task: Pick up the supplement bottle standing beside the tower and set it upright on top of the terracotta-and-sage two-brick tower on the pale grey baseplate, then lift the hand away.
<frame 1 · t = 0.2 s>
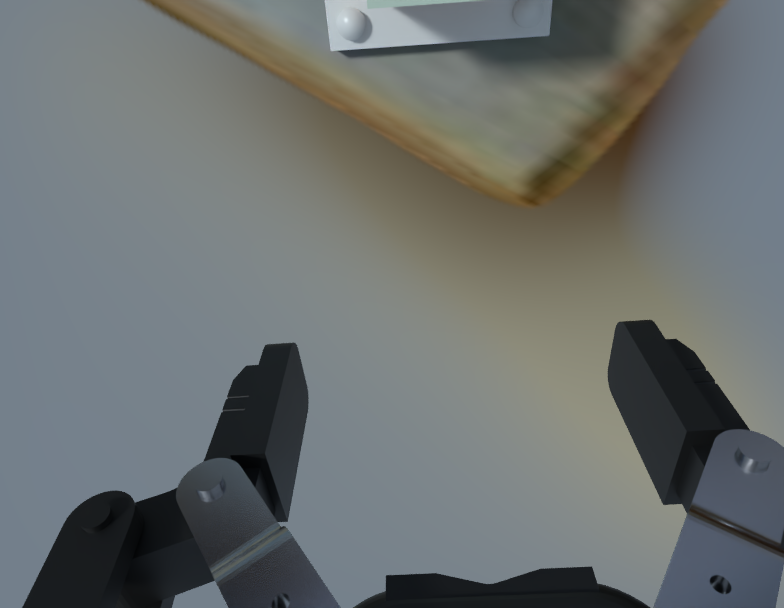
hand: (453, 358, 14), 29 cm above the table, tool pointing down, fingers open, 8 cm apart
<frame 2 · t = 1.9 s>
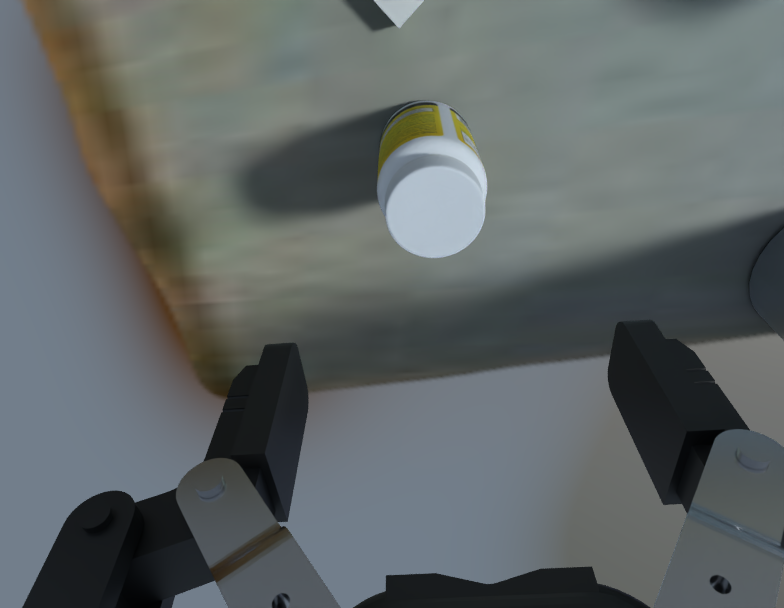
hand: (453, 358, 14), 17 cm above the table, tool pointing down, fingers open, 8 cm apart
supplement bottle: (425, 144, 28), on the table
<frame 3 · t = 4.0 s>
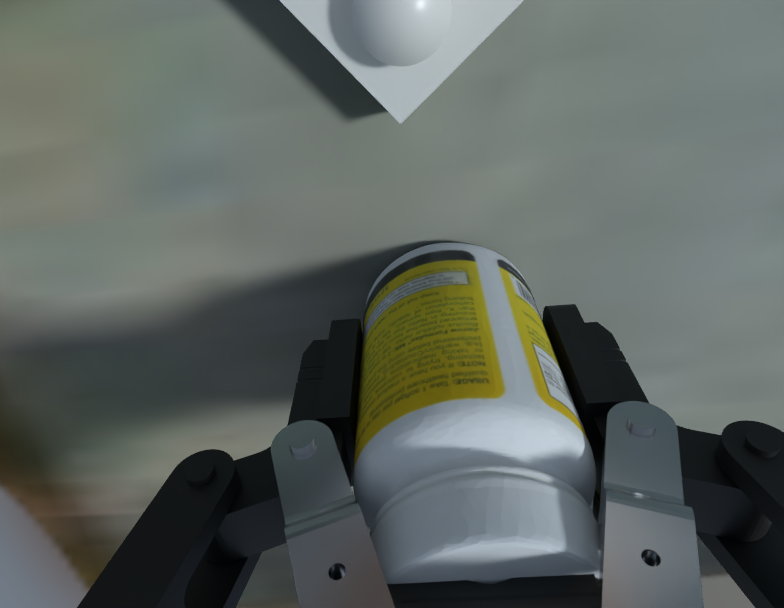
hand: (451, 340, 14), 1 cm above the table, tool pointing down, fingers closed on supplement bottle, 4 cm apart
supplement bottle: (447, 306, 16), on the table, touching gripper
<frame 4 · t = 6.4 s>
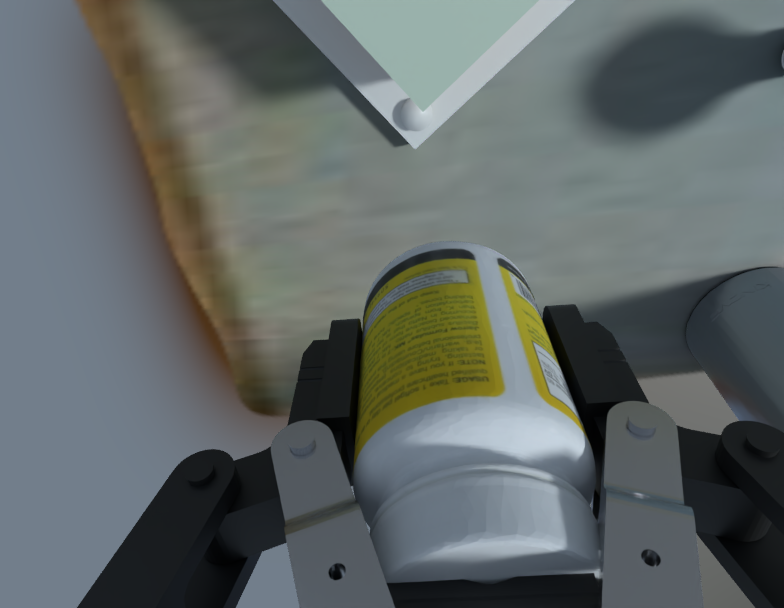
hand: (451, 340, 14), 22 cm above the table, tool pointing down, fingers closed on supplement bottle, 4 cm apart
supplement bottle: (447, 305, 16), point 20 cm above the table, touching gripper
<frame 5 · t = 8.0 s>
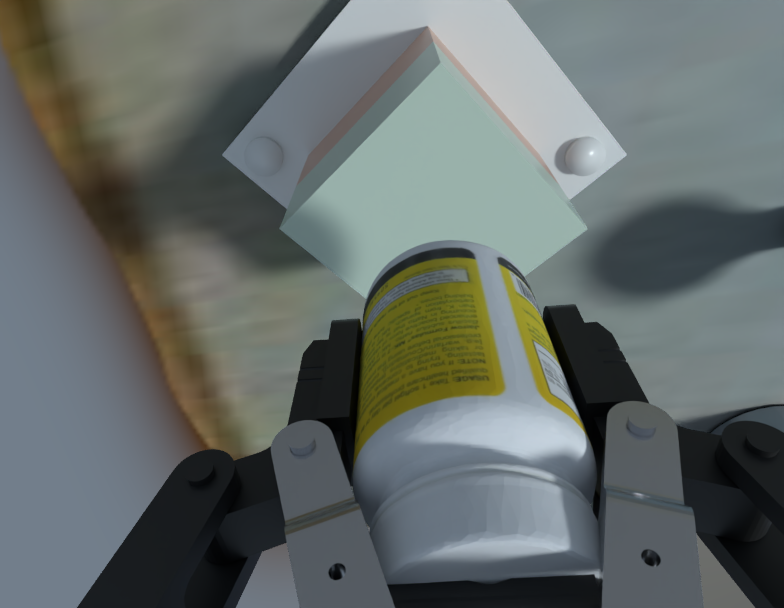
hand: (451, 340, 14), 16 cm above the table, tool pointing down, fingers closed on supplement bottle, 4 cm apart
supplement bottle: (447, 304, 16), point 14 cm above the table, touching gripper
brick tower: (422, 146, 27), on the table
when the fingers open (12 cm above the table, at t = 9.1 s): supplement bottle drops 1 cm, resting on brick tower.
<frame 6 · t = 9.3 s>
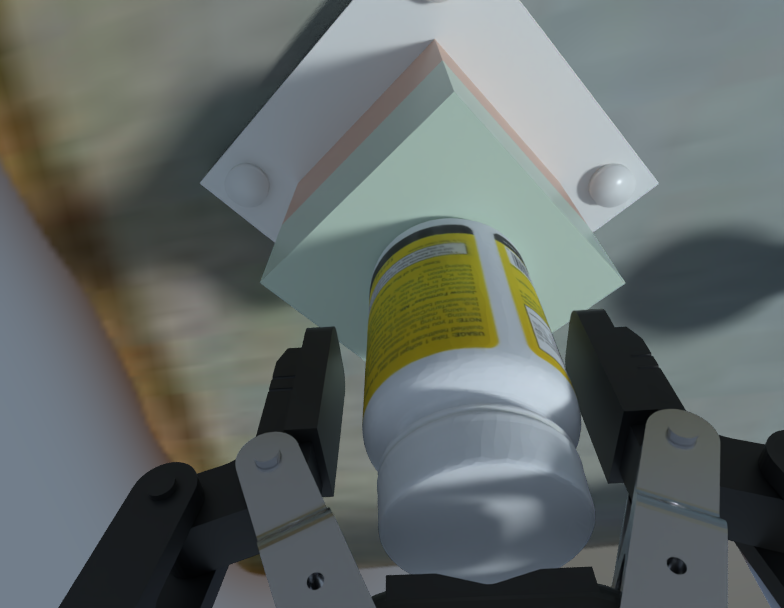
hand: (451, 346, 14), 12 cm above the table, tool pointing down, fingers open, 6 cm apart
supplement bottle: (447, 279, 17), point 9 cm above the table, touching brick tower
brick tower: (427, 173, 24), on the table
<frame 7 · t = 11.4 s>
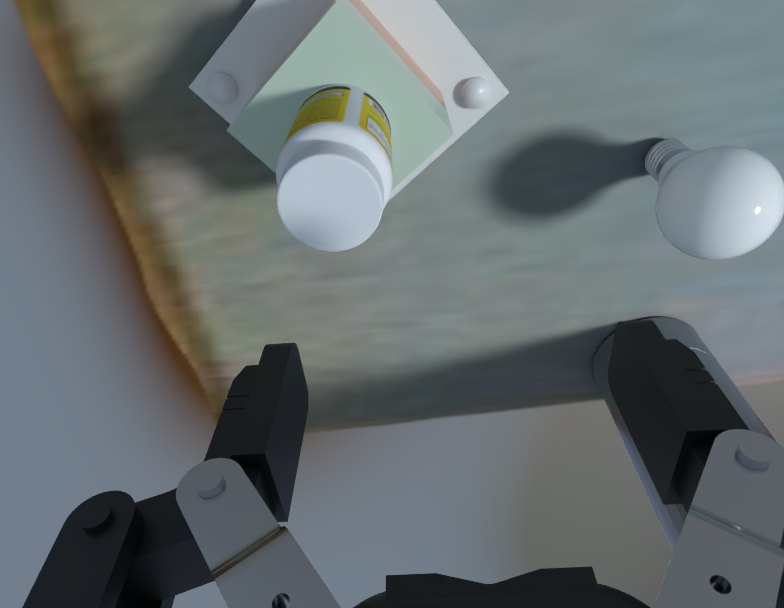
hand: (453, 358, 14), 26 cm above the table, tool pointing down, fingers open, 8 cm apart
supplement bottle: (344, 131, 27), point 9 cm above the table, touching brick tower
lightbulb: (659, 153, 37), on the table
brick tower: (350, 84, 34), on the table
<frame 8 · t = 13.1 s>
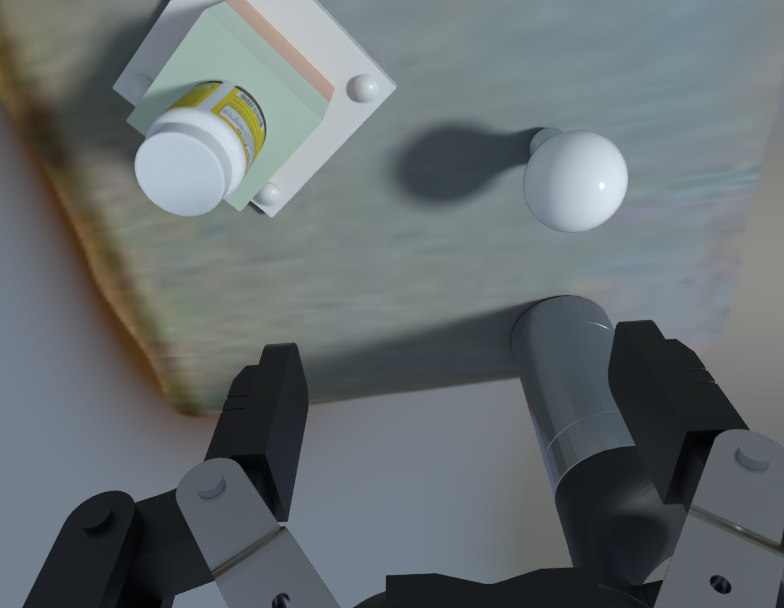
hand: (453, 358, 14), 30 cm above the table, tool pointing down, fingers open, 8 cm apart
supplement bottle: (228, 120, 31), point 9 cm above the table, touching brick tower
lightbulb: (544, 142, 41), on the table
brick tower: (257, 83, 39), on the table
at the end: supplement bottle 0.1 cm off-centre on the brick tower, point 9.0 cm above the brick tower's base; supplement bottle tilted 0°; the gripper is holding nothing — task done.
